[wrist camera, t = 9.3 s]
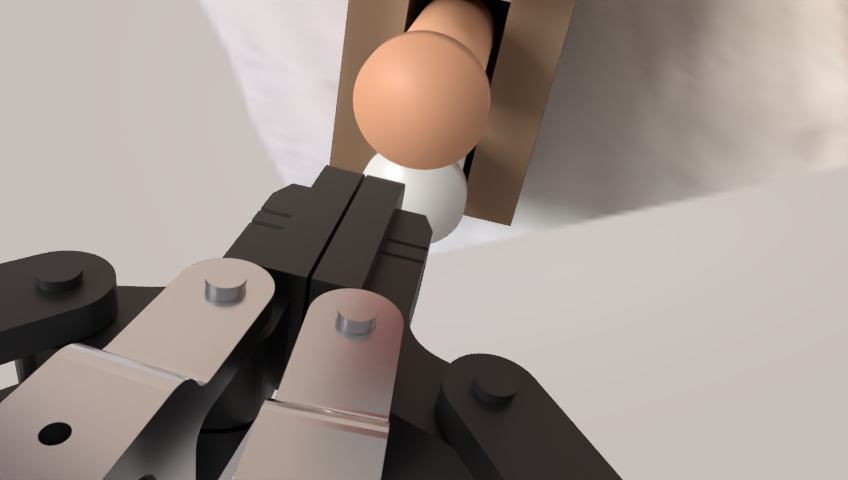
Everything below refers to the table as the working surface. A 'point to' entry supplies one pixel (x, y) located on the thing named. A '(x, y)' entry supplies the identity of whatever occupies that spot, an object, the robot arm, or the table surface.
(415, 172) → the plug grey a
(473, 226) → the table surface
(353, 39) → the walnut block
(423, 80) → the plug terracotta
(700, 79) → the table surface
